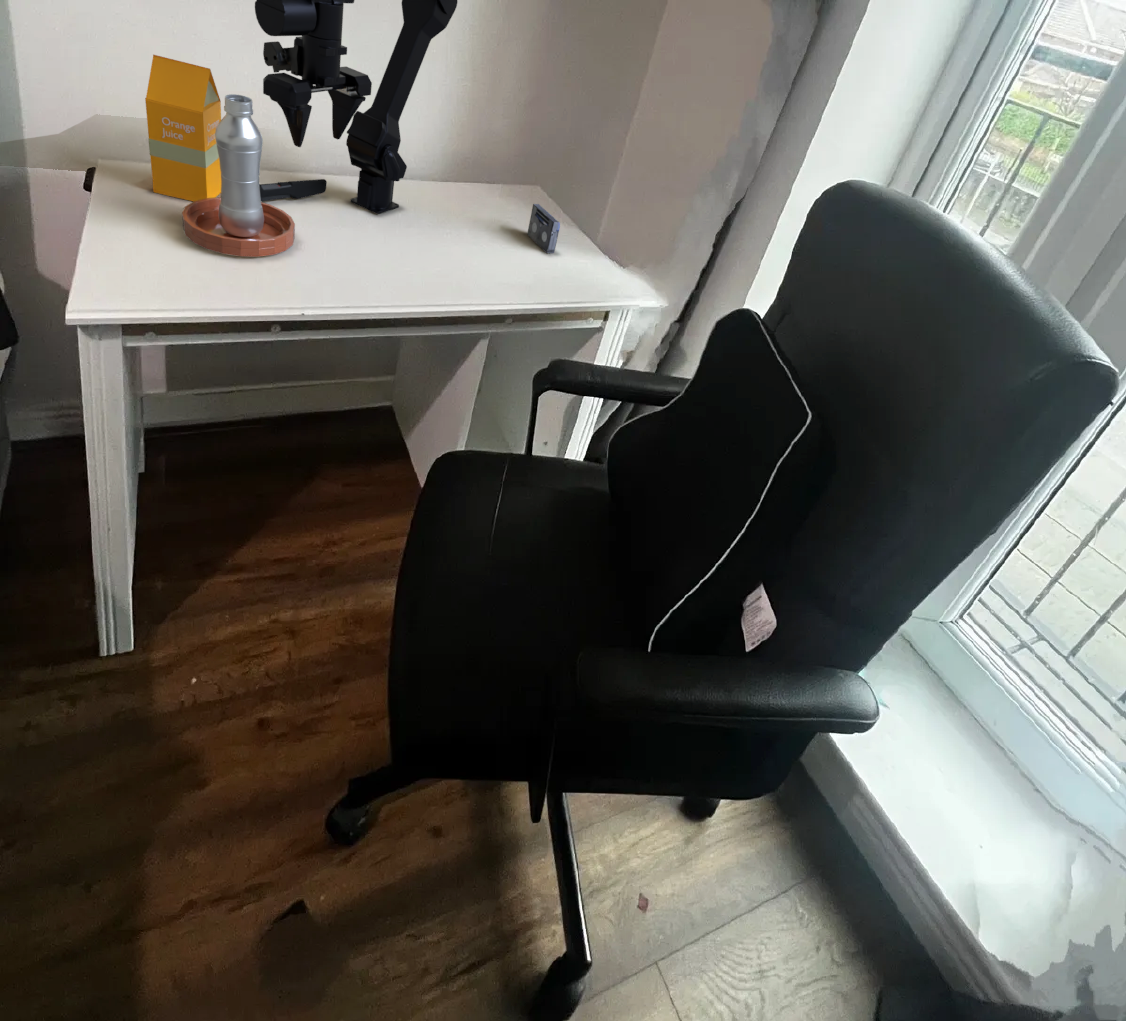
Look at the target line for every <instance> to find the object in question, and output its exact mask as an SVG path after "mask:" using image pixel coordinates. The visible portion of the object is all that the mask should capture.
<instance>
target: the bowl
mask: <svg viewBox="0 0 1126 1021" xmlns="http://www.w3.org/2000/svg"><path fill="white" fill-rule="evenodd" d="M220 201H221V196H219V197H218V196H217V197H215V198H205V199H201V200H197V201H194V202H193V201H191V203H188V204H187V205H185V206H184V208H183V210H182V212H181V220H182V230H183V232H184V235H185V237H186V238H188V239H189V240H190V241H191V242H192V243H193V244H196V245H197V246H199V247H201V248H203V249H206V250H209V251H213V252H216V253H218V254H223V255H229V256H236V257H251V258H252V257H256V258H257V257H264V256H273V255H277V254H280V253H283V252H286V251H288V250H289V249H290V248H291V247H292V246H293V245H294V242H295V238H296V223H295V221H294V219H293V218H292V216H291V215H289V213H287V212H286V211H284V210H283V209H280V208H279V207H276V206H275V205H272V204H269V203H265V202H264V201H261V205H262V209H263V214H264V224H263V229H262V230H261V232H260V233H259V234H258V235H256V236H251V237H240V236H235V235H231V234H229V233H227V232H226V231H225V230H224V229H223V228H222V226H221V224H220V220H219V216H218V214H219V205H220Z"/></svg>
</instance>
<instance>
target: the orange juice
mask: <svg viewBox="0 0 1126 1021" xmlns="http://www.w3.org/2000/svg"><path fill="white" fill-rule="evenodd" d="M148 77H149V78H148V84H147V90H146V95H145V99H144V100H145V110H146V111H145V112H146V120H147V121H146V123H147V131H148V132H147V134H148V135H147V136H148V137H147V138H148V150H149V157H150V167H151V168H150V169H151V179H152V189H153V190H152V192H153V193H155V194H159V195H164V196H167V197H171V198H172V197H173V198H177V199H180V200H184V201H185V200H186V201H190V202H194V201H197V200H201V199H205V198H215V197H218V196H219V195H221V170H220V160H219V155H218V150H217V145H216V139H215V132H216V128H217V126H218V124H219V123H220V121H221V120H222V103H221V101H222V100H221V97H220V95H219V92H218V89H217V86H216V82H215V80H214V76H213V73H212V71H211V68H208V67H204V66H202V65H197V64H193V63H189V62H185V61H181V60H177V59H174V58H169V57H165V56H161V55H157V54H152V61H151V67H150V73H149V76H148Z"/></svg>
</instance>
